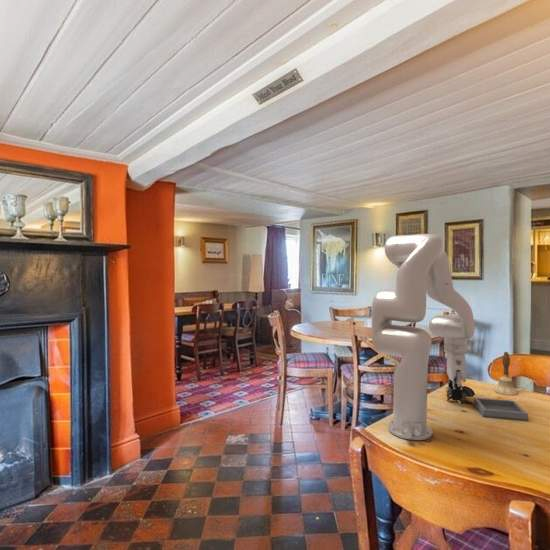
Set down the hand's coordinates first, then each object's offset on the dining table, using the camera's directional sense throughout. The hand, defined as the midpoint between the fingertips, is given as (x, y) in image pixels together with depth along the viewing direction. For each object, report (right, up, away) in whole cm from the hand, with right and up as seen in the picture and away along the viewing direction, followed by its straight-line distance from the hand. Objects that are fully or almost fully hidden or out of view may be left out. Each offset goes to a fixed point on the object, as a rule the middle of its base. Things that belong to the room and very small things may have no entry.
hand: (454, 396), depth 140 cm
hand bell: (+26, -2, +12) cm, 28 cm away
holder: (+11, -2, -9) cm, 14 cm away
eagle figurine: (+1, -2, 0) cm, 3 cm away
